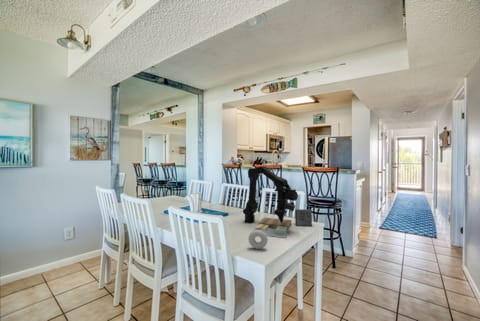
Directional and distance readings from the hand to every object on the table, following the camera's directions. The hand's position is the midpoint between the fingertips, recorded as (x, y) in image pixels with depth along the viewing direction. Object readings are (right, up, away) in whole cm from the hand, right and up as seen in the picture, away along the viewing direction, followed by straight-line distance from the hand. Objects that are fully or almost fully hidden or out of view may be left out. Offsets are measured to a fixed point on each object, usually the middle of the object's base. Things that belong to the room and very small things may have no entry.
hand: (281, 222), depth 149 cm
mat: (-8, -5, -3) cm, 10 cm away
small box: (+18, -5, +13) cm, 22 cm away
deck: (-2, -5, +11) cm, 12 cm away
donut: (-18, -6, -28) cm, 34 cm away
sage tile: (-1, -5, -2) cm, 5 cm away
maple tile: (-12, -5, +2) cm, 13 cm away
